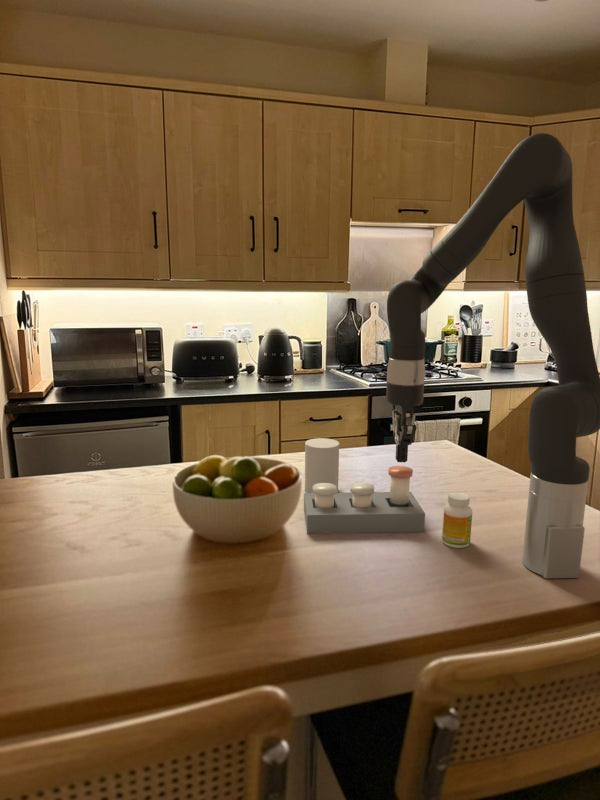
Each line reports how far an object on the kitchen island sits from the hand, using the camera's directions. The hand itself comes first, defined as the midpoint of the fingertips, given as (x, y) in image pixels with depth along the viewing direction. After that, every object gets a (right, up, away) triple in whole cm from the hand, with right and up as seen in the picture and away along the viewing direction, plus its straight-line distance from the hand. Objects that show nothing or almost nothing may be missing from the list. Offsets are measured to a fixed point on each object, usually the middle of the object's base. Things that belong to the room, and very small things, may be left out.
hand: (401, 461), depth 121 cm
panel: (-8, -13, +2) cm, 15 cm away
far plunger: (-16, -12, +2) cm, 20 cm away
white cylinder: (-16, -9, +19) cm, 27 cm away
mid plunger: (-8, -12, +2) cm, 15 cm away
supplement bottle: (+9, -15, -8) cm, 20 cm away
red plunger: (0, -9, +2) cm, 9 cm away
